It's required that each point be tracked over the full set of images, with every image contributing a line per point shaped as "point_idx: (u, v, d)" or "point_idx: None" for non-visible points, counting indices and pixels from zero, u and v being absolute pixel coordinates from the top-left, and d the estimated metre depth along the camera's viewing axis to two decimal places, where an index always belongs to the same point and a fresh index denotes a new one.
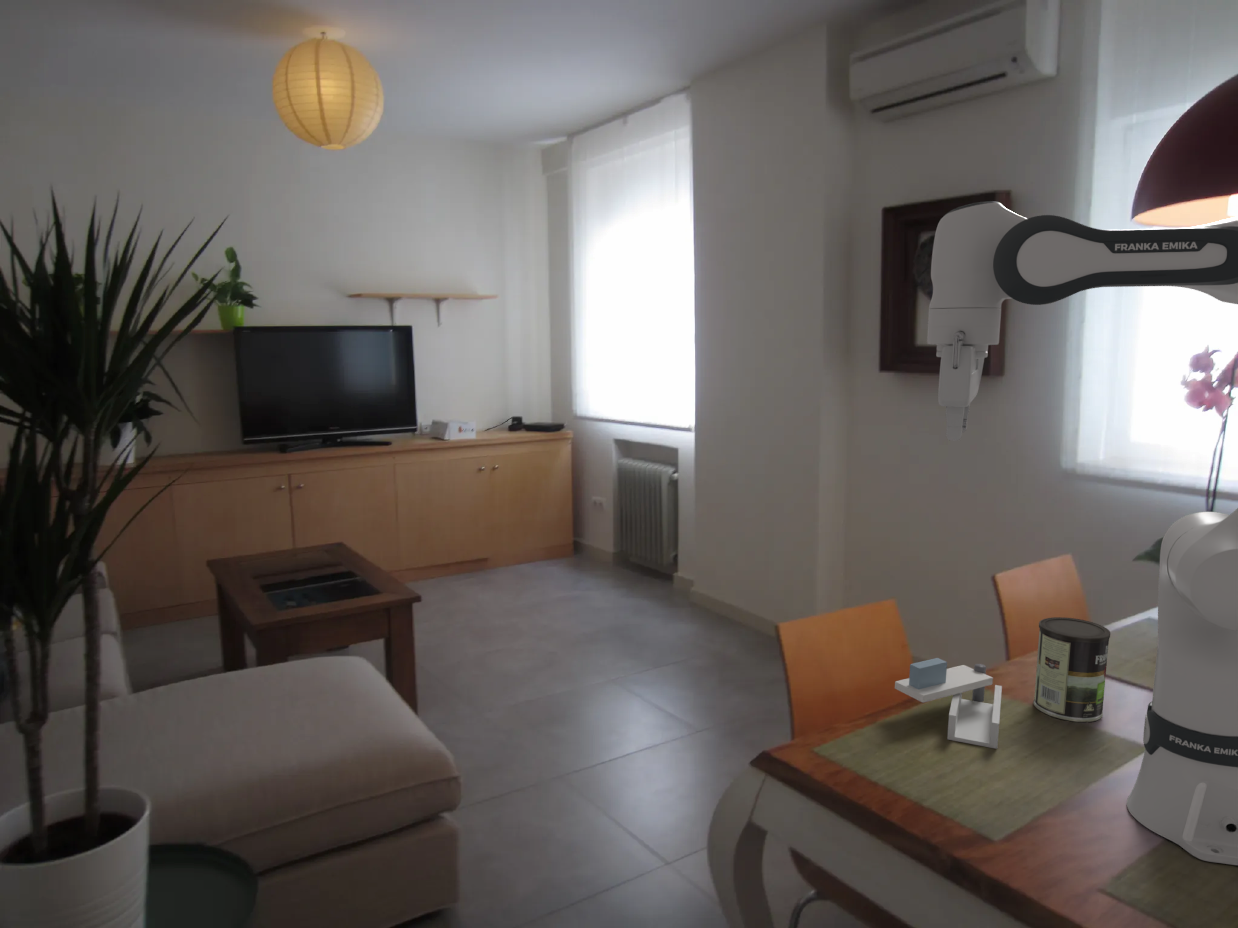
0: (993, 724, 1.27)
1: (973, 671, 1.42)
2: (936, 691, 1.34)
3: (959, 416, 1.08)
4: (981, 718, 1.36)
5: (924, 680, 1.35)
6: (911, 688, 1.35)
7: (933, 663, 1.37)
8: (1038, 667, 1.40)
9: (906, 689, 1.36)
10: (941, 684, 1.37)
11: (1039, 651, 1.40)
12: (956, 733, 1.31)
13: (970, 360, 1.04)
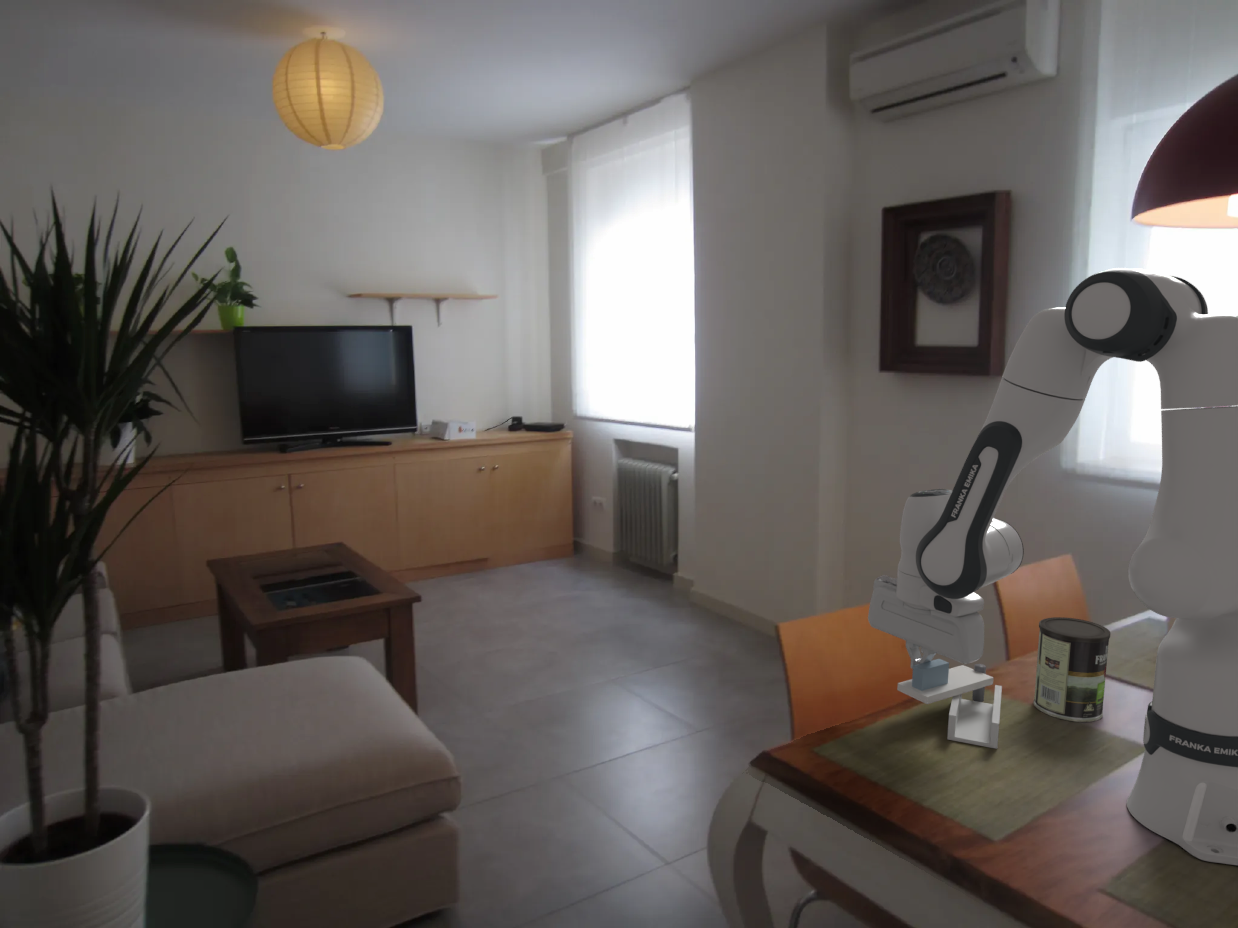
0: (993, 724, 1.27)
1: (973, 671, 1.42)
2: (940, 692, 1.34)
3: None
4: (981, 718, 1.36)
5: (927, 681, 1.35)
6: (915, 689, 1.35)
7: (935, 664, 1.36)
8: (1038, 667, 1.40)
9: (909, 691, 1.35)
10: (944, 685, 1.36)
11: (1039, 651, 1.40)
12: (956, 733, 1.31)
13: (872, 594, 1.44)
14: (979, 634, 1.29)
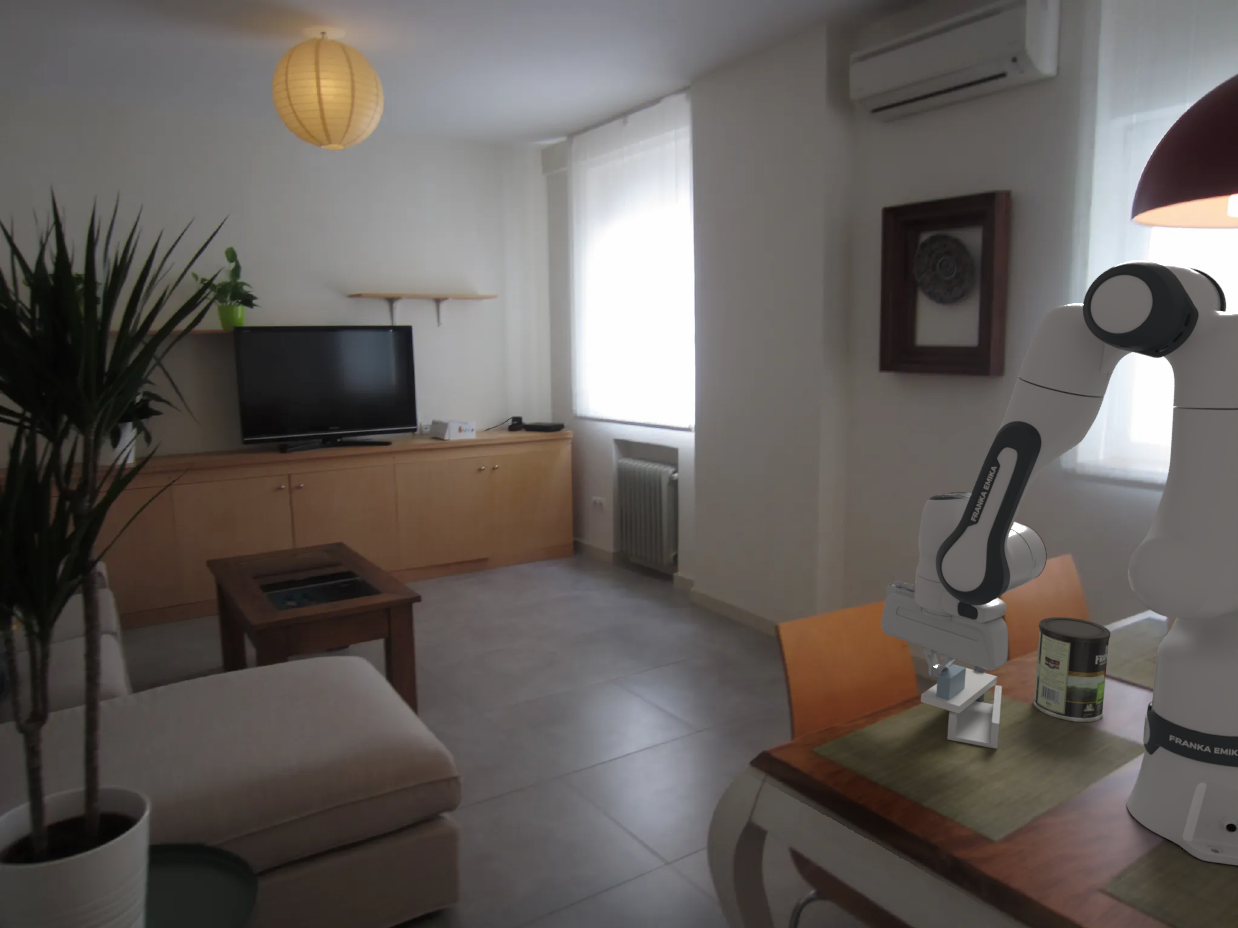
0: (993, 724, 1.27)
1: (975, 672, 1.42)
2: (966, 699, 1.31)
3: None
4: (981, 718, 1.36)
5: (952, 690, 1.32)
6: (942, 699, 1.31)
7: (955, 670, 1.34)
8: (1038, 667, 1.40)
9: (936, 701, 1.31)
10: (963, 691, 1.34)
11: (1039, 651, 1.40)
12: (956, 733, 1.31)
13: (886, 600, 1.40)
14: (1003, 640, 1.27)
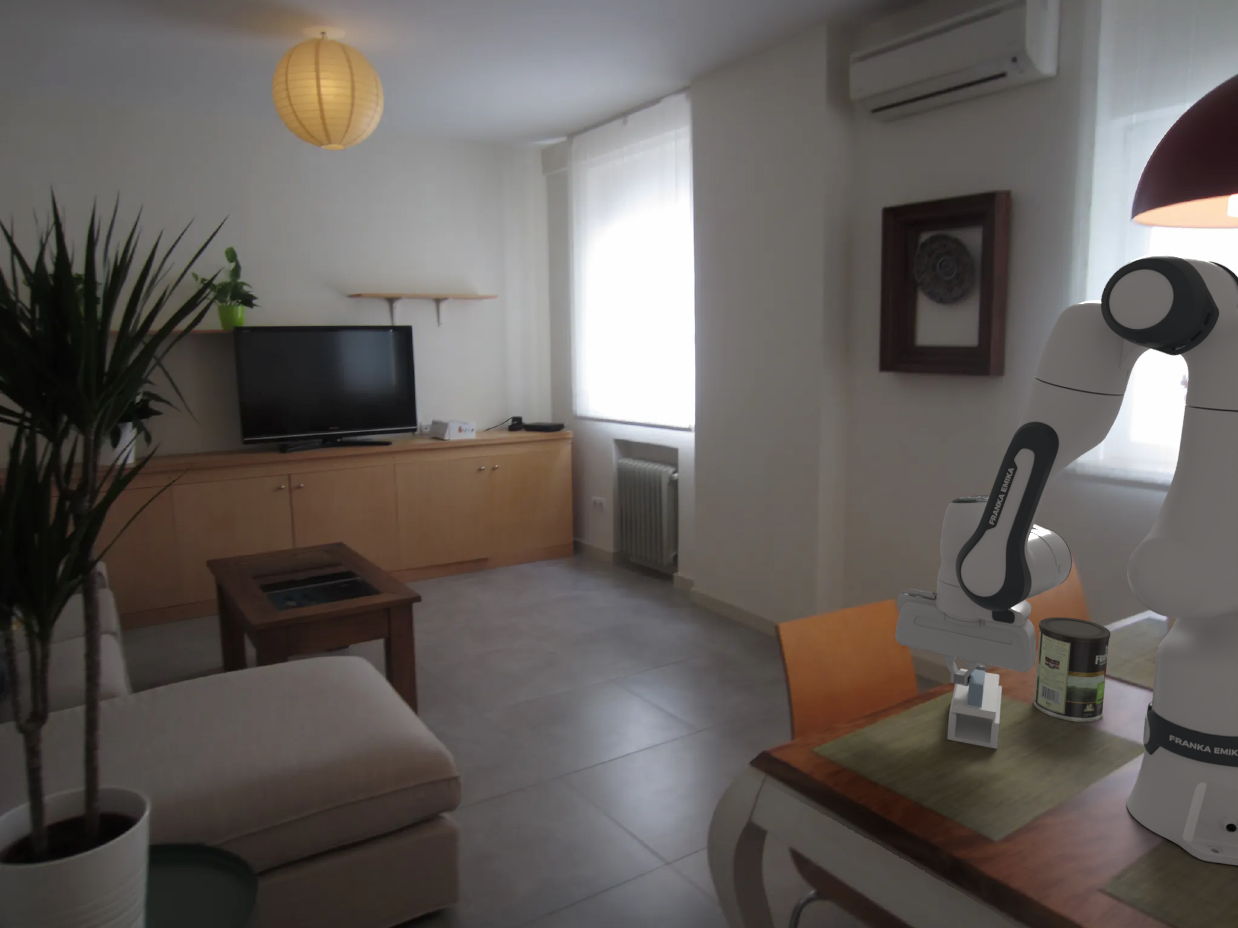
0: (993, 724, 1.27)
1: None
2: (995, 704, 1.30)
3: None
4: (981, 718, 1.36)
5: (982, 696, 1.30)
6: (975, 707, 1.29)
7: (979, 675, 1.32)
8: (1038, 667, 1.40)
9: (970, 710, 1.29)
10: (985, 695, 1.33)
11: (1039, 651, 1.40)
12: (956, 733, 1.31)
13: (901, 610, 1.35)
14: (1034, 640, 1.26)
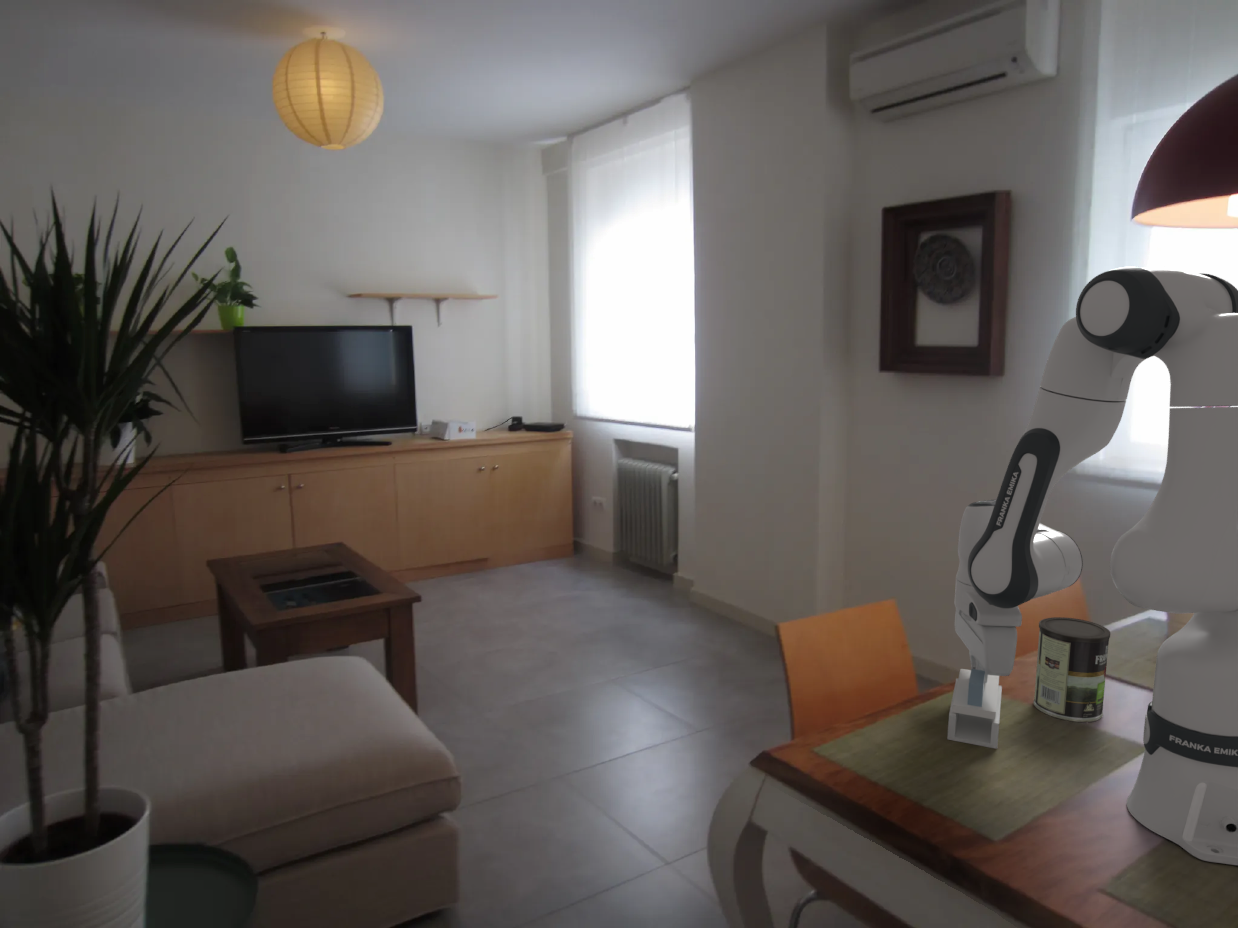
0: (993, 724, 1.27)
1: None
2: (995, 704, 1.30)
3: None
4: (981, 718, 1.36)
5: (982, 696, 1.30)
6: (975, 707, 1.29)
7: (979, 675, 1.32)
8: (1038, 667, 1.40)
9: (970, 710, 1.29)
10: (985, 695, 1.33)
11: (1039, 651, 1.40)
12: (956, 733, 1.31)
13: None
14: (1005, 648, 1.27)
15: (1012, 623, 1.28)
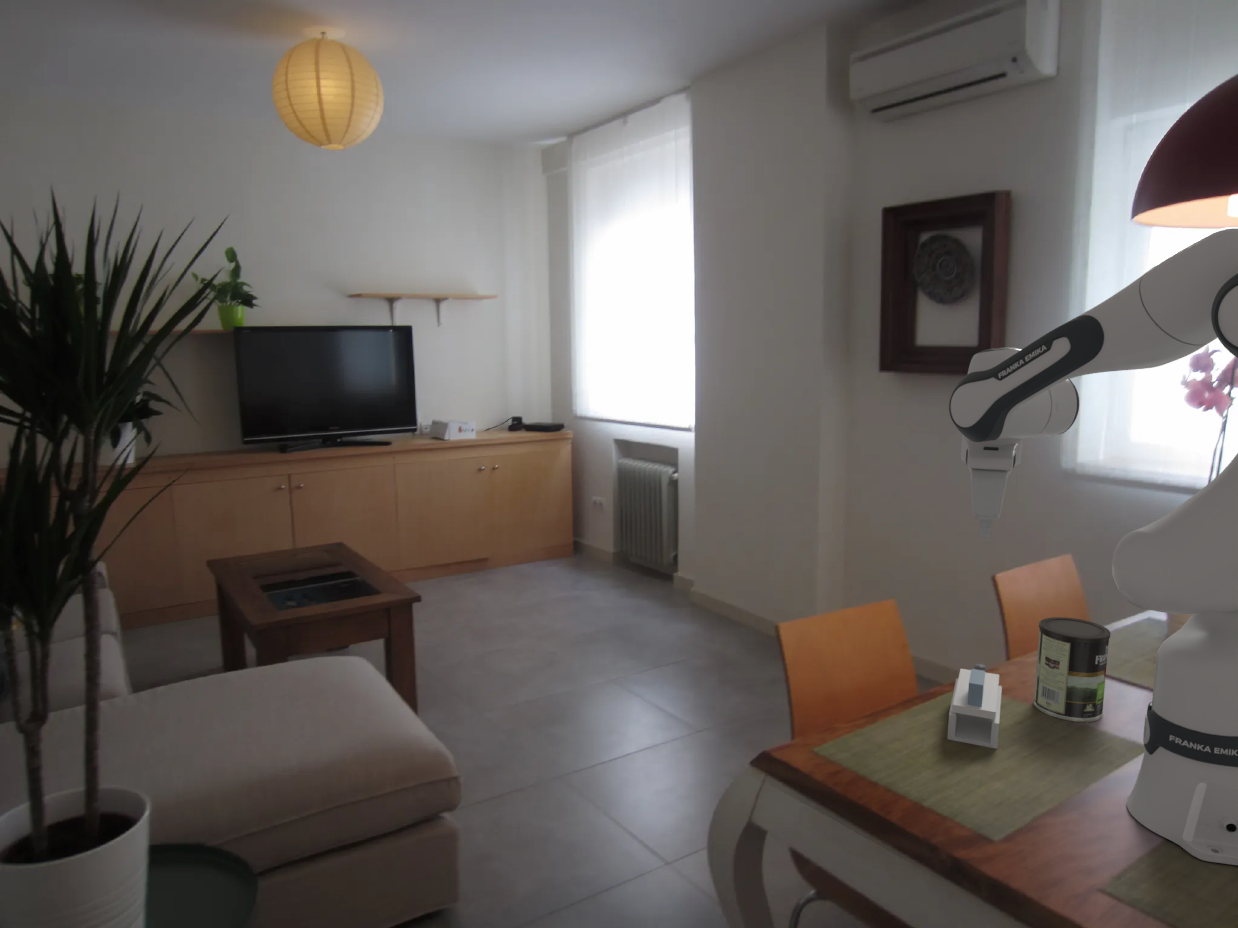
0: (993, 724, 1.27)
1: None
2: (995, 704, 1.30)
3: None
4: (981, 718, 1.36)
5: (982, 696, 1.30)
6: (975, 707, 1.29)
7: (979, 675, 1.32)
8: (1038, 667, 1.40)
9: (970, 710, 1.29)
10: (985, 695, 1.33)
11: (1039, 651, 1.40)
12: (956, 733, 1.31)
13: None
14: (992, 491, 1.26)
15: (1002, 466, 1.26)
